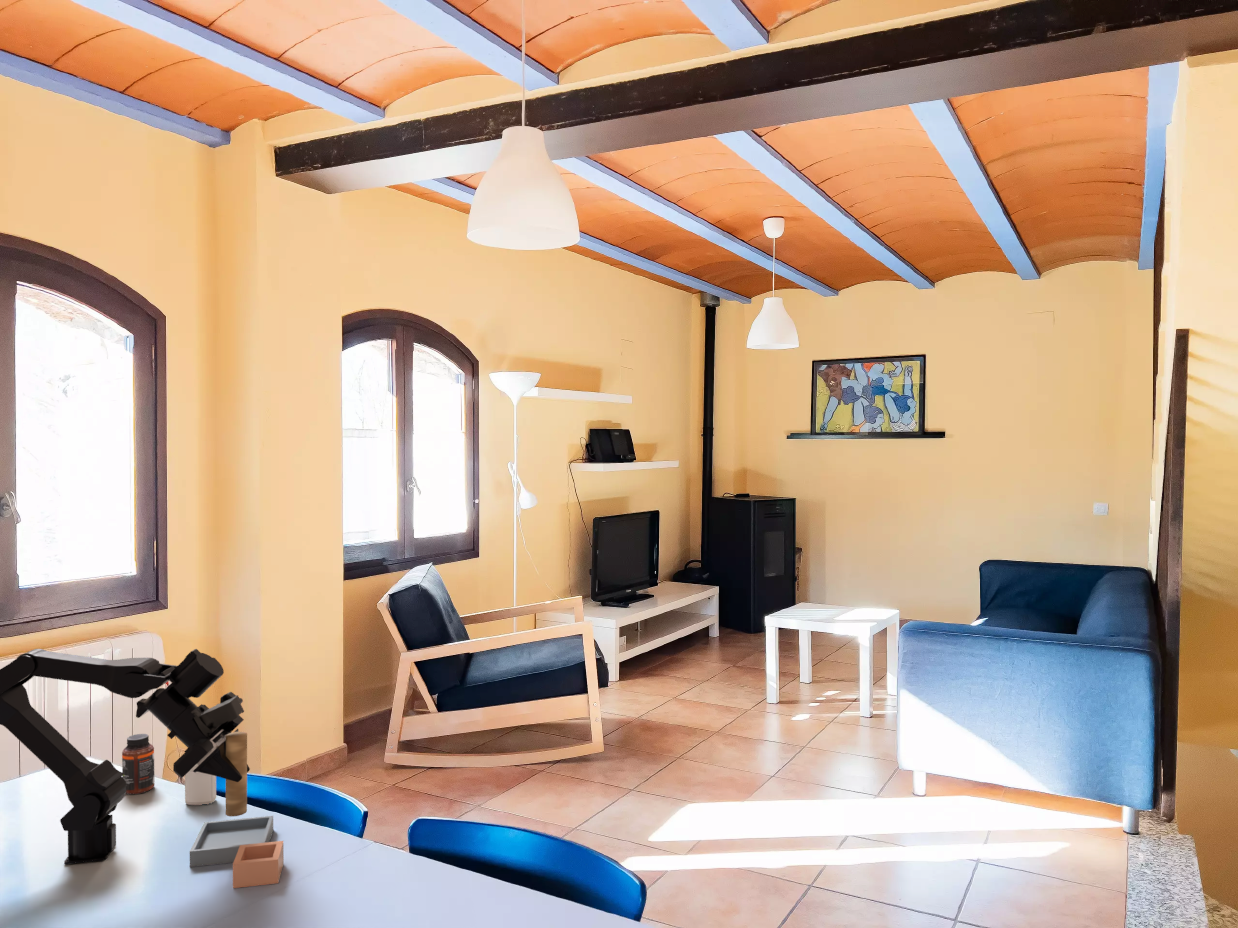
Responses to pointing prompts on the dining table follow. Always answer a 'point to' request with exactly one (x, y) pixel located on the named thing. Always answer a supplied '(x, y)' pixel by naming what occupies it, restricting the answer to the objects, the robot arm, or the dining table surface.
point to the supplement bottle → (138, 764)
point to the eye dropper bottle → (199, 788)
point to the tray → (228, 839)
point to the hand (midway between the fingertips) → (244, 775)
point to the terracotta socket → (258, 864)
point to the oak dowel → (238, 758)
